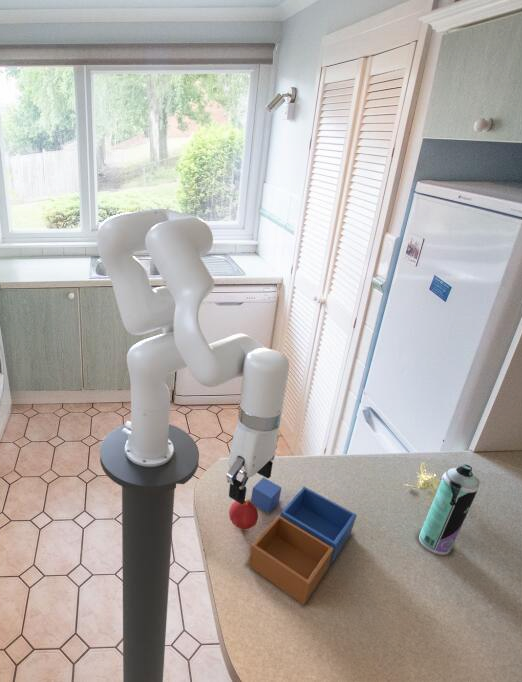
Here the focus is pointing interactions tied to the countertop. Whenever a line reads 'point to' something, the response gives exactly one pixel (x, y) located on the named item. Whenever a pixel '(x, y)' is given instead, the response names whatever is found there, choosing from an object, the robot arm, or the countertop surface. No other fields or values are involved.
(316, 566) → the brown bin
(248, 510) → the onion
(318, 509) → the blue bin
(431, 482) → the pale yellow lumpy mass
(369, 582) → the countertop surface
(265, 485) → the blue block
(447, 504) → the spray can
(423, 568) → the countertop surface
